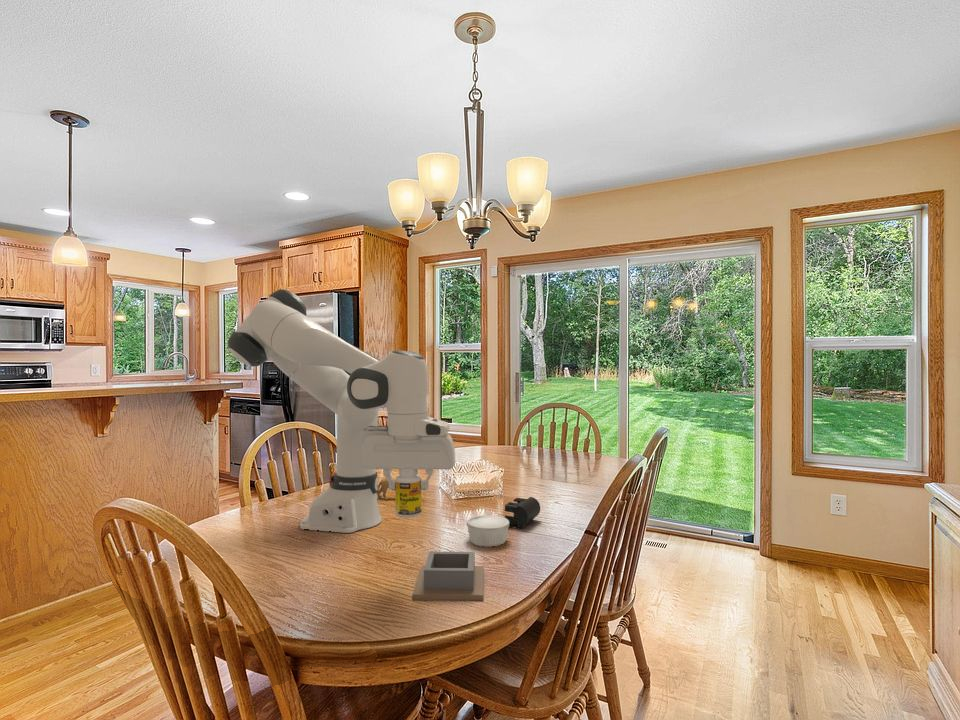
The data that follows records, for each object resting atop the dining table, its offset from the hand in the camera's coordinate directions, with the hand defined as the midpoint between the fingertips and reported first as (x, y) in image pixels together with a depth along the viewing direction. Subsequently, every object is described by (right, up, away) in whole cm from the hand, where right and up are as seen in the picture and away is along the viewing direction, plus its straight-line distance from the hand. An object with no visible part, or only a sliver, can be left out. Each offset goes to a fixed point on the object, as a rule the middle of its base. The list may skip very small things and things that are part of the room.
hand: (408, 489), depth 112 cm
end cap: (+28, -19, +37) cm, 50 cm away
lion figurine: (-13, -19, +63) cm, 67 cm away
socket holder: (+9, -19, -3) cm, 22 cm away
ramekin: (+17, -19, +23) cm, 35 cm away
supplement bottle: (0, -6, 0) cm, 6 cm away
